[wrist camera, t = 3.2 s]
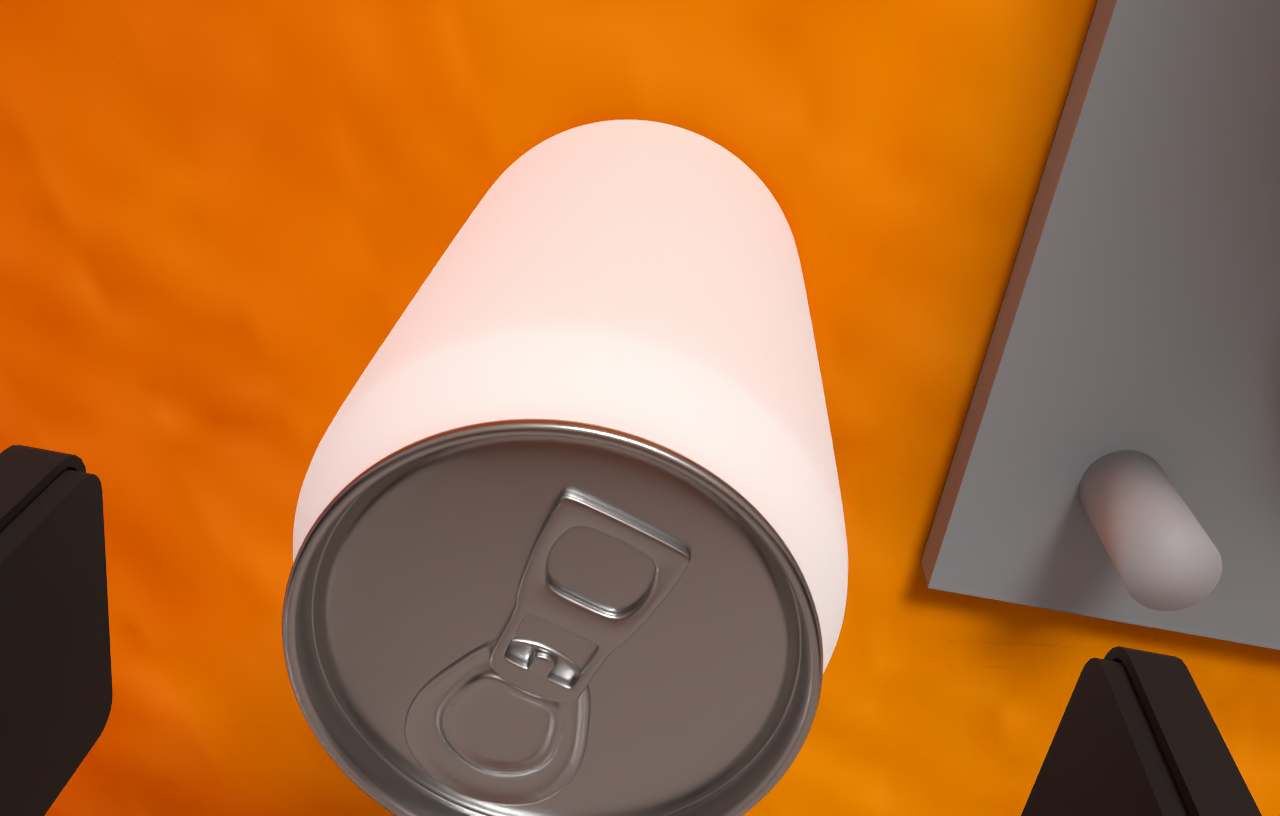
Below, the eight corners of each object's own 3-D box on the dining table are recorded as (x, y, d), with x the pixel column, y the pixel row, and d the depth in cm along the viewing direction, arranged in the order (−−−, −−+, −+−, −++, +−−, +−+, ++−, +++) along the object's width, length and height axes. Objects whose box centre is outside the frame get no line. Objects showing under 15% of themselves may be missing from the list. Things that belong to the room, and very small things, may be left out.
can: (414, 341, 24) (157, 752, 13) (555, 47, 21) (380, 259, 11) (697, 483, 25) (674, 974, 14) (866, 217, 22) (997, 571, 12)
